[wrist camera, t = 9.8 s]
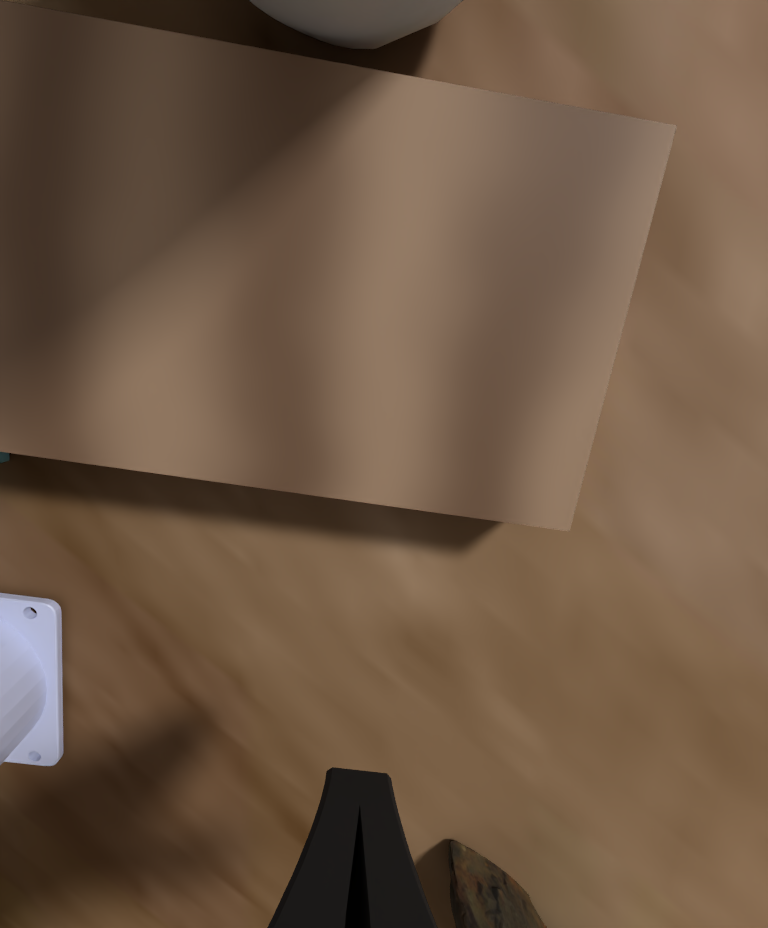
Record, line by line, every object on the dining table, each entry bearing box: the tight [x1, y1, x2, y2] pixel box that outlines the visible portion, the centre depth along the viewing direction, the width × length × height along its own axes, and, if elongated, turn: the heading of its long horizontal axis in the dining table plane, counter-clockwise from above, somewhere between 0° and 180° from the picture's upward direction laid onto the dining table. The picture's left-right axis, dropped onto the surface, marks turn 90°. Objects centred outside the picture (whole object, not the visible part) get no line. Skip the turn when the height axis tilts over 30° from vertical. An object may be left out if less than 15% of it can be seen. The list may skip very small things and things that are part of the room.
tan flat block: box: [0, 0, 677, 531], centre depth 15 cm, size 20×12×4 cm, turn 81°
